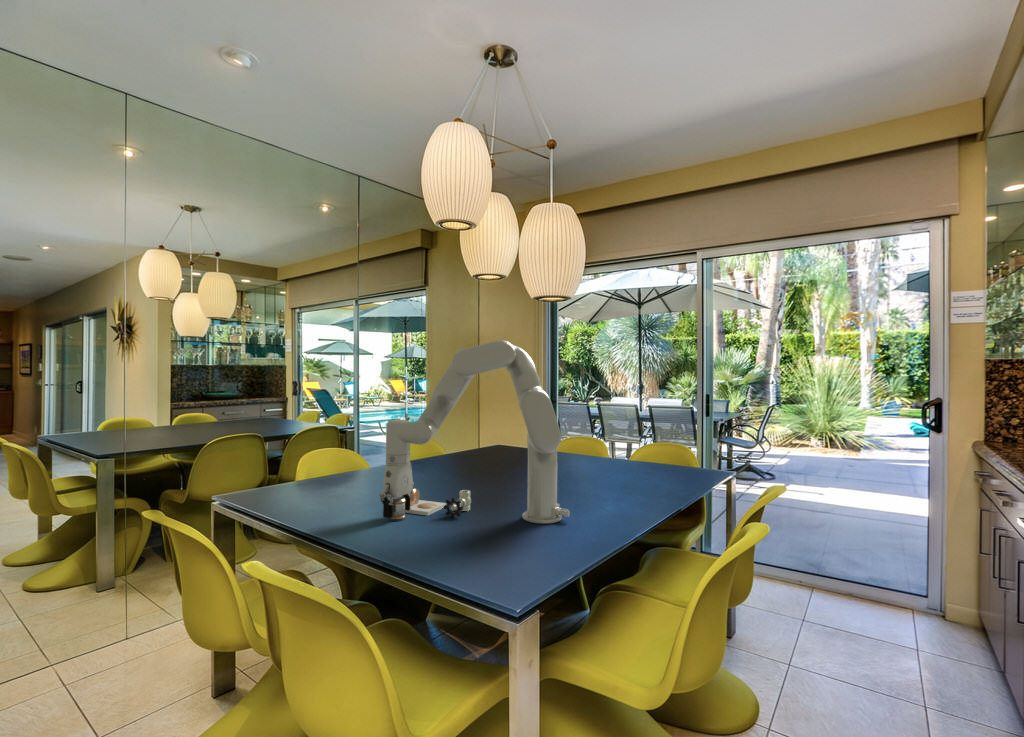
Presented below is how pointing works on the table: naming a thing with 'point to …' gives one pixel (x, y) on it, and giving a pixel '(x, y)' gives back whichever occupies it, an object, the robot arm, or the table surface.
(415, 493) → the fixed stub
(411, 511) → the plate
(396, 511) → the coupling
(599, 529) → the table surface
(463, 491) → the valve
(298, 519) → the table surface
